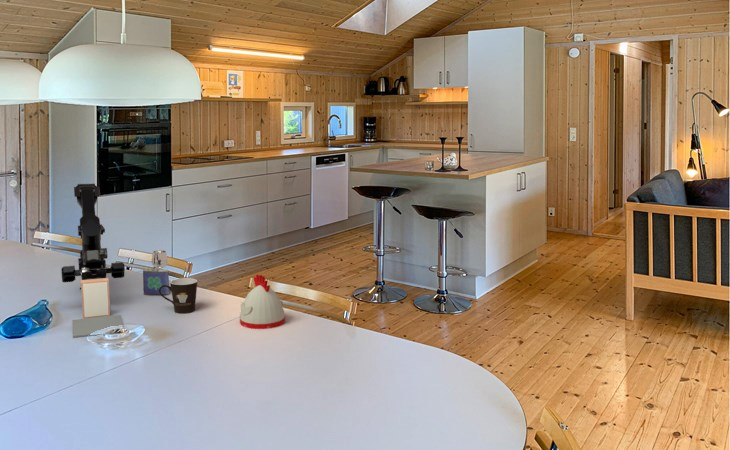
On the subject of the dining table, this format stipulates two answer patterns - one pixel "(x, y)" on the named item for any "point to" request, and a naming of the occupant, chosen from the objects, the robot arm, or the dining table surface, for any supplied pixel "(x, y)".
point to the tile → (95, 298)
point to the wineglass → (159, 259)
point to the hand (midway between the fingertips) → (95, 294)
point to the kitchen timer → (261, 307)
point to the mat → (94, 324)
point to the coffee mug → (182, 294)
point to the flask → (155, 281)
